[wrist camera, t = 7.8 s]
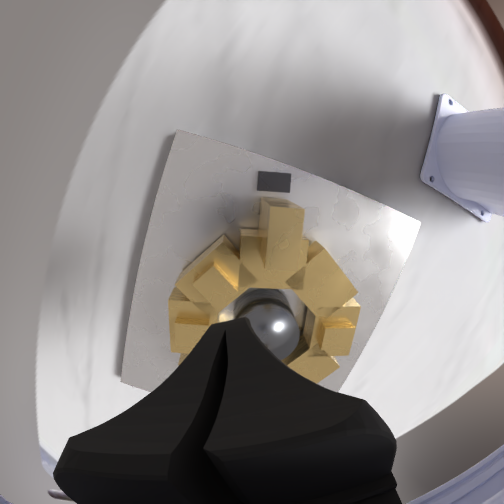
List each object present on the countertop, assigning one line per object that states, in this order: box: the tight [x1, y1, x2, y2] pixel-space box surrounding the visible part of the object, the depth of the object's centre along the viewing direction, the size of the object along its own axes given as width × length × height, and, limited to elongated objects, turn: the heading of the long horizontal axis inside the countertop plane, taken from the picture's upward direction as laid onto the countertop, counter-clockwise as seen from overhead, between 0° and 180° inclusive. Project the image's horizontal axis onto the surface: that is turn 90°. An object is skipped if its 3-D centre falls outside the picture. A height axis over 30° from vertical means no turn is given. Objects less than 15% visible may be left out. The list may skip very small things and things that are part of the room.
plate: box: [121, 130, 421, 392], centre depth 19 cm, size 18×20×4 cm
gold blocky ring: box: [168, 197, 361, 384], centre depth 17 cm, size 14×12×5 cm
